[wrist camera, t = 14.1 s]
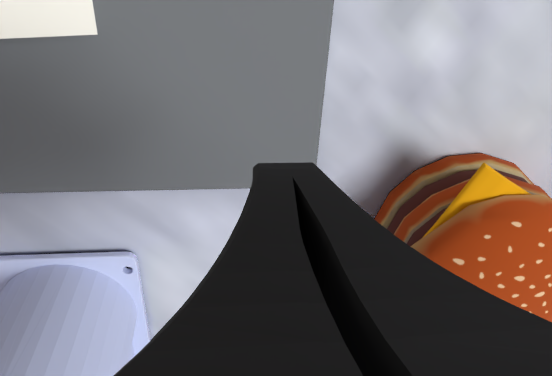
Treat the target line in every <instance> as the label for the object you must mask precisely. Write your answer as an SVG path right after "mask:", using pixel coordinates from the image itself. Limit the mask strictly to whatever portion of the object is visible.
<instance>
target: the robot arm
mask: <svg viewBox="0 0 552 376" xmlns="http://www.w3.org/2000/svg"><path fill="white" fill-rule="evenodd" d="M125 267H131V268H132V269H127V268H125ZM0 376H552V322H550V321H548V320H546V319H543V318H541V317H539V316H537V315H535V314H532V313H530V312H528V311H526V310H524V309H521V308H519V307H517V306H515V305H513V304H511V303H509V302H506V301H504V300H502V299H500V298H498V297H496V296H494V295H492V294H490V293H488V292H486V291H484V290H483V289H481V288H479V287H477V286H475V285H473V284H472V283H470V282H468V281H466V280H464V279H462V278H461V277H459V276H457V275H455V274H453V273H452V272H450V271H448V270H447V269H445V268H443V267H441V266H440V265H438V264H437V263H435V262H433V261H432V260H430V259H429V258H427V257H426V256H424V255H423V254H421V253H420V252H418V251H417V250H415V249H414V248H412V247H410V246H409V245H408V244H406V243H405V242H403V241H402V240H400V239H399V238H398V237H396V236H395V235H394V234H392V233H391V232H390V231H389V230H387V229H386V228H385V227H383V226H382V225H381V224H380V223H378V222H377V221H376V220H374V219H373V218H372V217H371V216H370V215H369V214H367V213H366V212H365V211H364V210H363V209H361V208H360V207H359V206H358V205H357V204H356V203H355V202H354V201H352V200H351V199H350V198H349V197H348V196H347V195H346V194H345V193H344V192H343V191H342V190H341V189H340V188H339V187H337V186H336V185H335V184H334V183H333V182H332V181H331V180H330V179H329V178H328V177H327V176H326V175H325V174H324V173H323V172H322V171H321V170H320V169H319V168H318V167H317V166H316V165H315V164H314V163H313V162H305V163H258V164H256V165H255V166H254V167H253V180H252V185H251V188H250V192H249V195H248V198H247V200H246V203H245V206H244V208H243V211H242V213H241V216H240V218H239V220H238V222H237V224H236V226H235V228H234V230H233V232H232V234H231V236H230V238H229V240H228V242H227V243H226V245H225V247H224V249H223V250H222V252H221V254H220V255H219V257H218V258H217V260H216V261H215V263H214V264H213V266H212V267H211V269H210V270H209V272H208V273H207V275H206V276H205V277H204V279H203V280H202V281H201V283H200V284H199V285H198V287H197V288H196V289H195V291H194V292H193V293H192V295H191V296H190V297H189V298H188V300H187V301H186V302H185V303H184V305H183V306H182V307H181V308H180V309H179V310H178V311H177V313H176V314H175V315H174V316H173V317H172V318H171V319H170V320H169V321H168V322H167V323H166V324H165V326H164V327H163V328H162V329H161V330H160V331H159V332H158V333H157V334H156V335H155V336H154V337H153V339H152V340H151V339H150V333H149V327H148V321H147V314H146V308H145V302H144V296H143V290H142V284H141V278H140V271H139V265H138V259H137V256H136V255H135V254H134V253H132V252H97V253H67V254H37V255H7V256H0Z"/></svg>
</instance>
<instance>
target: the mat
mask: <svg viewBox="0 0 552 376" xmlns="http://www.w3.org/2000/svg"><path fill="white" fill-rule="evenodd" d="M92 2H93V8H94V14H95V21H96V27H97V34H98V35H76V36H54V37H31V38H8V39H0V193H32V192H84V191H137V190H189V189H242V188H251V185H252V180H253V167H254V166H255V165H256V164H258V163H305V162H313V163H314V164H315V165H316V163H317V154H318V145H319V135H320V126H321V117H322V107H323V98H324V89H325V79H326V70H327V61H328V51H329V42H330V33H331V23H332V14H333V5H334V0H92Z"/></svg>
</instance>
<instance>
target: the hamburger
mask: <svg viewBox="0 0 552 376" xmlns="http://www.w3.org/2000/svg"><path fill="white" fill-rule="evenodd" d="M374 220H376V221H377V222H378V223H380V224H381V225H382V226H383V227H385V228H386V229H387V230H389V231H390V232H391V233H392V234H394V235H395V236H396V237H398V238H399V239H400V240H402V241H403V242H405V243H406V244H408V245H409V246H410V247H412V248H414V249H415V250H417V251H418V252H420V253H421V254H423V255H424V256H426V257H427V258H429V259H430V260H432V261H433V262H435V263H437V264H438V265H440V266H441V267H443V268H445V269H447V270H448V271H450V272H452V273H453V274H455V275H457V276H459V277H461V278H462V279H464V280H466V281H468V282H470V283H472V284H473V285H475V286H477V287H479V288H481V289H483V290H484V291H486V292H488V293H490V294H492V295H494V296H496V297H498V298H500V299H502V300H504V301H506V302H509V303H511V304H513V305H515V306H517V307H519V308H521V309H524V310H526V311H528V312H530V313H532V314H535V315H537V316H539V317H541V318H543V319H546V320H548V321H550V322H552V198H550V197H549V196H548V195H547V193H546V192H545V191H544V190H542V189H541V188H540V187H539V186H536V185H534V184H533V183H532V182H531V181H530V180H529V178H528V177H527V176H526V175H525V174H524V173H523V172H522V171H521V170H520V169H519V168H518V167H517V166H516V165H515V164H514V163H512V162H508V161H505V160H502V159H499V158H496V157H492V156H489V155H486V154H483V153H476V154H465V155H454V156H448V157H445V158H443V159H441V160H438V161H436V162H434V163H432V164H429V165H427V166H425V167H422V168H420V169H418V170H415V171H414V172H413V173H412V174H410V175H409V176H408V177H407V178H406V179H405V180H403V181H402V182H401V183H400V184H399V185H398V186H396V187H395V188H394V189H393V190H392V191H391V192H390V193H389V194H388V196H387V198H386V200H385V201H384V203H383V205H382V206H381V208H380V210H379V212H378V213H377V215H376V217H375V219H374Z"/></svg>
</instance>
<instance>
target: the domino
mask: <svg viewBox="0 0 552 376" xmlns="http://www.w3.org/2000/svg"><path fill="white" fill-rule="evenodd" d="M76 35H98V34H97V27H96V21H95V14H94V8H93V2H92V0H0V39H8V38H31V37H54V36H76Z"/></svg>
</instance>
